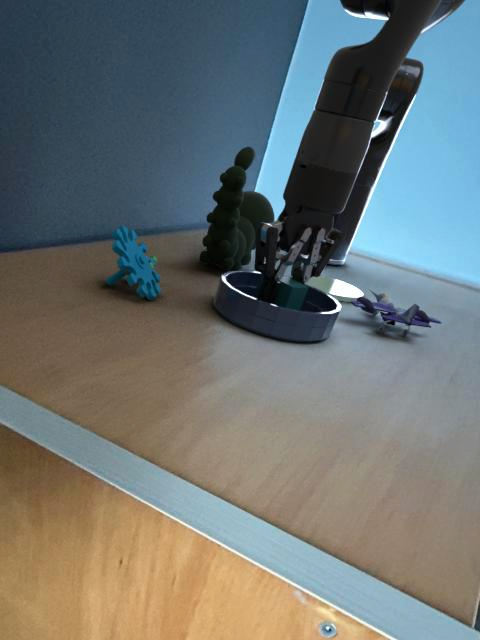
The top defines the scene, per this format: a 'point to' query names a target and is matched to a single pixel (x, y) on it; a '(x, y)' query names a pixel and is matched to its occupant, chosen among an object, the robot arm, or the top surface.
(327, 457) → the top surface
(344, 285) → the plate
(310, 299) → the bowl
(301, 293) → the teal rectangular block
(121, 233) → the gear
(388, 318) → the toy airplane
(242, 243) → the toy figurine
